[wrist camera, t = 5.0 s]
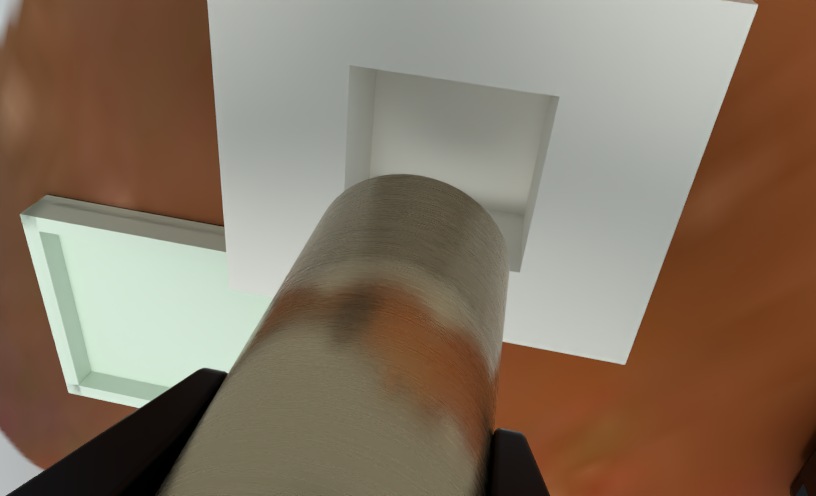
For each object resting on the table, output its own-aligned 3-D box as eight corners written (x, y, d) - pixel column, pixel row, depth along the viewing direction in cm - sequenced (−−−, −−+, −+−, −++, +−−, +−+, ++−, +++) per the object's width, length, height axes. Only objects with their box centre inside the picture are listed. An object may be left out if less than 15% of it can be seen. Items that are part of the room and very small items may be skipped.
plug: (527, 193, 12) (496, 643, 5) (491, 355, 14) (438, 817, 8) (316, 157, 12) (42, 534, 6) (313, 320, 15) (113, 728, 8)
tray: (301, 240, 24) (287, 263, 22) (301, 413, 28) (290, 440, 27) (46, 194, 25) (19, 213, 23) (89, 369, 30) (68, 392, 28)
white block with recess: (717, -29, 17) (758, 4, 13) (614, 285, 22) (625, 365, 19) (266, -86, 18) (201, -69, 15) (275, 224, 23) (228, 289, 20)
